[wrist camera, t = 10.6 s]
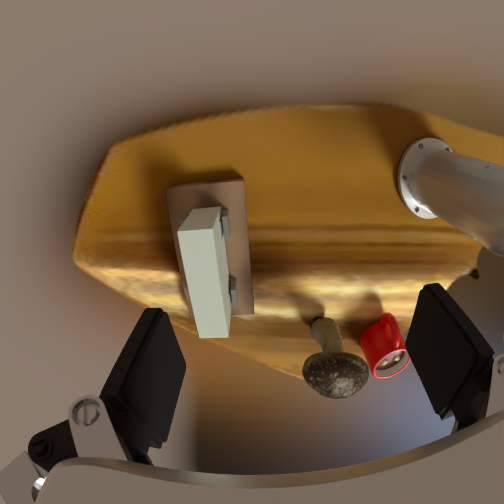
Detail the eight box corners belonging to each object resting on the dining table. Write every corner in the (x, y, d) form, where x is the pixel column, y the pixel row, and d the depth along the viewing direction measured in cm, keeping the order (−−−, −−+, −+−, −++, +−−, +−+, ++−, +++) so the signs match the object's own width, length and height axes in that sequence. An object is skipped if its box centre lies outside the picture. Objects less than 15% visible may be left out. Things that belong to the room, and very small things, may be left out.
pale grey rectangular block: (222, 206, 33) (214, 228, 26) (233, 300, 39) (229, 337, 32) (192, 208, 33) (177, 231, 26) (207, 301, 39) (199, 338, 32)
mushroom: (350, 327, 45) (377, 392, 31) (306, 346, 47) (320, 414, 33) (336, 289, 41) (367, 357, 28) (286, 310, 43) (299, 384, 29)
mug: (400, 298, 43) (420, 325, 36) (393, 344, 48) (407, 371, 41) (361, 308, 43) (377, 339, 36) (358, 354, 48) (370, 384, 41)
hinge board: (243, 178, 34) (242, 185, 30) (254, 306, 43) (254, 326, 38) (169, 185, 34) (157, 194, 30) (192, 309, 43) (186, 328, 38)
